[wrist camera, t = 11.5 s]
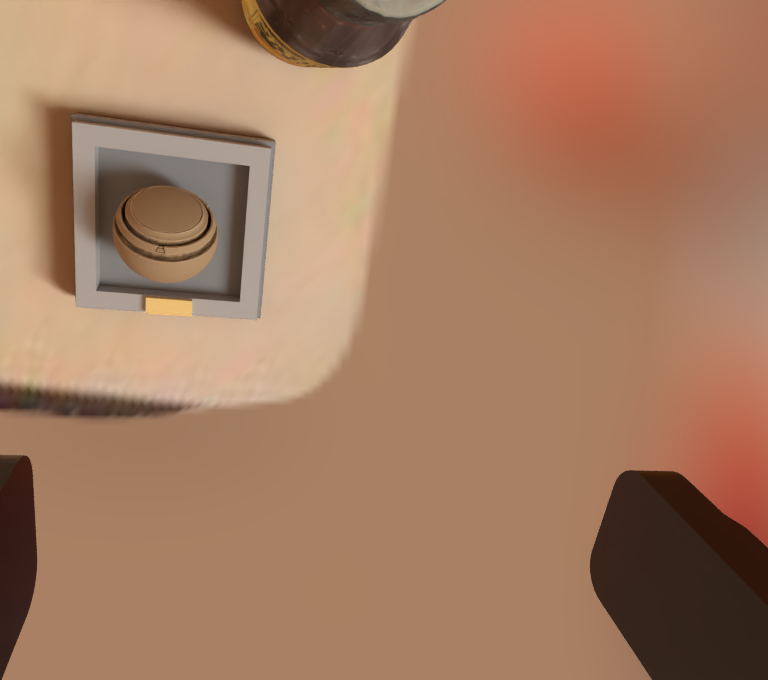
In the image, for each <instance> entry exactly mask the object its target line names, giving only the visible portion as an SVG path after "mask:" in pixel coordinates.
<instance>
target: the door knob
mask: <svg viewBox="0 0 768 680" xmlns="http://www.w3.org/2000/svg"><path fill="white" fill-rule="evenodd" d="M113 239H114V243H115V246H116V249H117V251H118V253H119V255H120V257H121V258H122V260H123V261H124V262H125V263H126V265H127V266H128V267H129V268H130V269H132V270H133V271H134V272H135V273H137V274H138V275H140V276H142V277H144V278H146V279H149V280H151V281H155V282H160V283H176V282H181V281H184V280H187V279H190V278H192V277H194V276H195V275H197V274H198V273H200V272H201V271H202V270H203V269H204V268H205V267H206V266H207V265H208V264H209V262H210V261H211V259H212V257H213V255H214V253H215V250H216V247H217V242H218V229H217V224H216V221H215V217H214V215H213V213H212V211H211V210H210V208H209V206H208V205H207V203H206V202H205V201H203V200H202V199H201V198H200V197H198V196H197V195H195V194H194V193H192V192H189V191H187V190H184V189H181V188H178V187H173V186H162V185H160V186H149V187H144V188H141V189H138V190H136V191H134V192H132V195H130V196H127V197H126V198H125V199H124V200H123V201H122V203H121V204H120V205H119V207H118V209H117V212H116V214H115V217H114V221H113Z"/></svg>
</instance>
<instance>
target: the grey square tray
mask: <svg viewBox="0 0 768 680" xmlns="http://www.w3.org/2000/svg"><path fill="white" fill-rule="evenodd" d="M71 126H72V168H73V211H74V254H75V296H76V307H80V308H94V309H108V310H122V311H136V312H146V313H149V314H162V315H176V316H190V317H191V316H205V317H219V318H233V319H247V320H257V318H260V316H261V305H262V293H263V282H264V270H265V259H266V247H267V236H268V224H269V212H270V201H271V189H272V178H273V166H274V155H275V143H276V142H275V140H270V139H263V138H256V137H248V136H241V135H234V134H226V133H219V132H212V131H205V130H197V129H190V128H183V127H176V126H168V125H161V124H154V123H146V122H139V121H132V120H125V119H117V118H110V117H103V116H96V115H88V114H81V113H75V114H71ZM160 185H162V186H173V187H178V188H181V189H184V190H187V191H189V192H192V193H194V194H195V195H197V196H198V197H200V198H201V199H202V200H203V201H205V202H206V203H207V205H208V206H209V208H210V210H211V211H212V213H213V215H214V217H215V221H216V224H217V229H218V242H217V247H216V250H215V253H214V255H213V257H212V259H211V261H210V262H209V264H208V265H207V266H206V267H205V268H204V269H203V270H202V271H201V272H200V273H198V274H197V275H195V276H194V277H192V278H190V279H187V280H184V281H181V282H176V283H160V282H155V281H151V280H149V279H146V278H144V277H142V276H140V275H138V274H137V273H135V272H134V271H133V270H132V269H130V268H129V267H128V266H127V265H126V263H125V262H124V261H123V260H122V258H121V257H120V255H119V253H118V251H117V249H116V246H115V243H114V239H113V221H114V217H115V214H116V212H117V209H118V207H119V205H120V204H121V203H122V201H123V200H124V199H125V198H126V197H127V196H130V195H132V192H134V191H136V190H138V189H141V188H144V187H149V186H160Z"/></svg>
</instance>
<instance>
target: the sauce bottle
mask: <svg viewBox="0 0 768 680" xmlns="http://www.w3.org/2000/svg"><path fill="white" fill-rule="evenodd" d="M445 1H446V0H241V2H242V8H243V12H244V16H245V18H246V21H247V23H248V25H249V27H250V29H251V31H252V33H253V35H254V37H255V38H256V40H257V41H258V42H259V43H260V44H261V45H262V46H263V47H264V48H265V49H266V50H267V51H268V52H269V53H270V54H272V55H273V56H275V57H276V58H278V59H280V60H282V61H284V62H286V63H289V64H292V65H295V66H300V67H319V68H350V67H357V66H362V65H366V64H368V63H371V62H373V61H375V60H377V59H379V58H381V57H383V56H384V55H385V54H387V53H388V52H389V51H390V50H392V49H393V47H394V46H395V45H396V44H397V43H398V41H399V40H400V39H401V38H402V36H403V35H404V33H405V31H406V30H407V28H408V27H409V25H410V23H411V22H412V20H413V19H415V18H417V17H418V16H420V15H423V14H425V13H427V12H429V11H431V10H433V9H435V8H436V7H437V6H439V5H441V4H442V3H443V2H445Z"/></svg>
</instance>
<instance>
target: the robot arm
mask: <svg viewBox="0 0 768 680" xmlns="http://www.w3.org/2000/svg"><path fill="white" fill-rule="evenodd" d="M34 508H35V507H34V488H33V472H32V465H31V462H30V459H29V458H28V457H27V456H24V455H23V456H21V455H0V680H2V677H3V674H4V672H5V670H6V667H7V664H8V662H9V659H10V657H11V654H12V652H13V649H14V647H15V644H16V642H17V639H18V637H19V634H20V632H21V629H22V626H23V624H24V622H25V619H26V617H27V614H28V611H29V608H30V605H31V601H32V597H33V593H34V587H35V581H36V573H37V545H36V526H35V509H34ZM590 573H591V579H592V584H593V587H594V590H595V592H596V594H597V596H598V598H599V600H600V601H601V603H602V605H603V606H604V608H605V609H606V611H607V612H608V614H609V615H610V617H611V618H612V620H613V621H614V623H615V624H616V626H617V627H618V629H619V630H620V632H621V633H622V635H623V636H624V638H625V639H626V641H627V642H628V644H629V645H630V647H631V648H632V650H633V651H634V653H635V654H636V656H637V657H638V659H639V660H640V662H641V663H642V665H643V667H644V668H645V670H646V671H647V673H648V674H649V676H650V677H651V679H652V680H768V548H767V547H766V546H765V545H764V544H763V543H762V542H761V541H759V539H758V538H756V537H755V536H754V535H753V534H752V533H751V532H750V531H749V530H748V529H747V528H745V527H744V526H742V525H740V524H739V523H737V522H736V521H734V520H732V519H731V518H729V517H728V516H726V515H724V514H723V513H722V512H721V511H720V510H719V509H718V508H717V507H716V506H715V505H714V504H713V503H712V502H711V501H709V500H708V499H707V498H706V497H705V496H704V495H703V494H702V493H701V492H700V491H699V490H698V489H697V488H696V487H695V486H694V485H692V484H691V483H690V482H689V481H688V480H687V479H686V478H685V477H684V476H682V475H681V474H679V473H677V472H673V471H634V470H633V471H632V470H630V471H625V472H623V473H622V474H621V475H620V476H619V477H618V478H617V480H616V482H615V484H614V487H613V490H612V493H611V496H610V499H609V502H608V505H607V508H606V511H605V514H604V517H603V520H602V523H601V526H600V529H599V532H598V535H597V538H596V541H595V544H594V547H593V550H592V554H591V559H590Z"/></svg>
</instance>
